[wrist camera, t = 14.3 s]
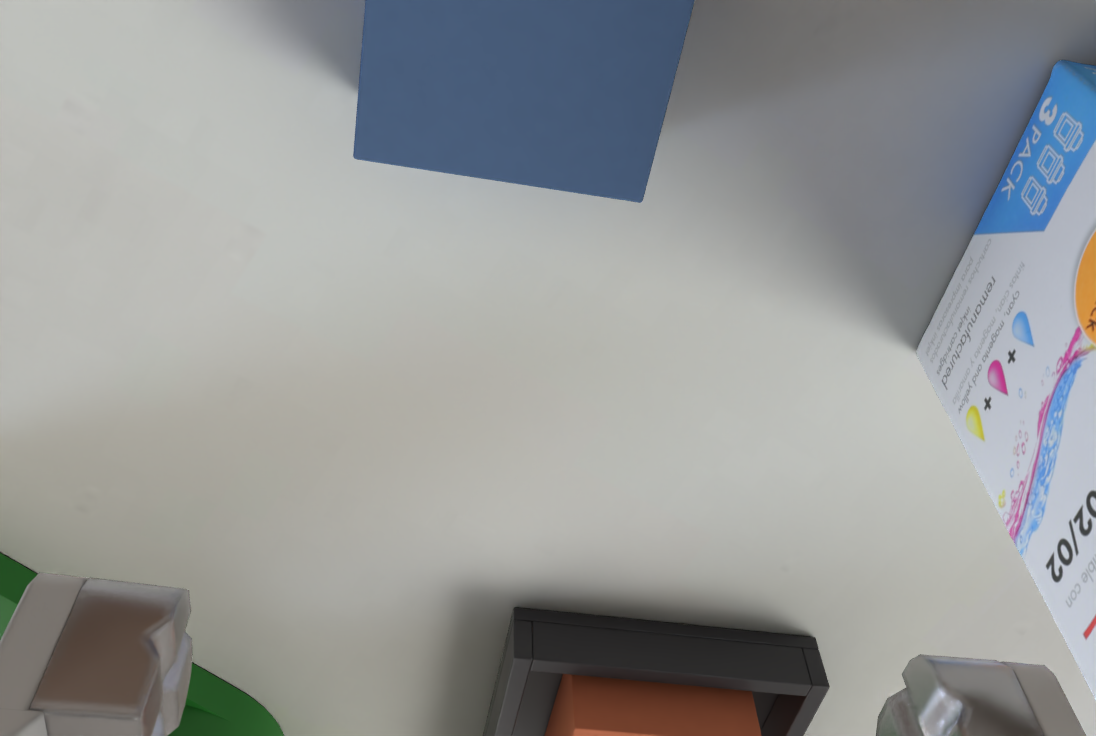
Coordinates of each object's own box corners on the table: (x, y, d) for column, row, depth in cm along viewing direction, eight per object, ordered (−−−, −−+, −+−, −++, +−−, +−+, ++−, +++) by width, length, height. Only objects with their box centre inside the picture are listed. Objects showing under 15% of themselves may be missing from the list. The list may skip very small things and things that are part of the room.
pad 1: (684, -82, 21) (706, -41, 19) (629, 144, 24) (642, 204, 22) (389, -137, 21) (373, -103, 18) (369, 102, 23) (352, 159, 21)
